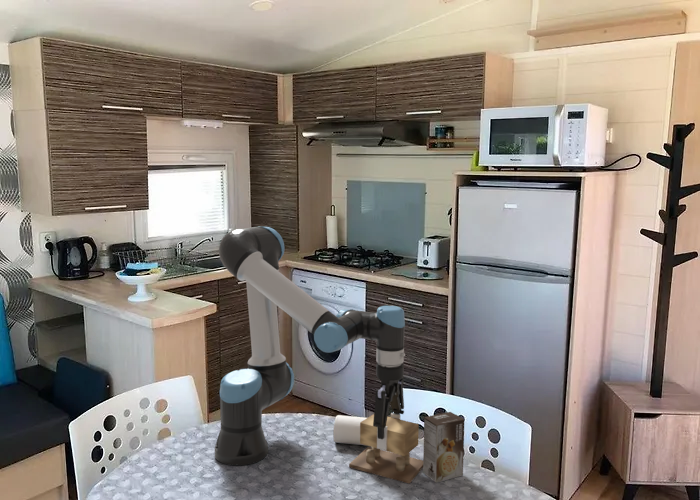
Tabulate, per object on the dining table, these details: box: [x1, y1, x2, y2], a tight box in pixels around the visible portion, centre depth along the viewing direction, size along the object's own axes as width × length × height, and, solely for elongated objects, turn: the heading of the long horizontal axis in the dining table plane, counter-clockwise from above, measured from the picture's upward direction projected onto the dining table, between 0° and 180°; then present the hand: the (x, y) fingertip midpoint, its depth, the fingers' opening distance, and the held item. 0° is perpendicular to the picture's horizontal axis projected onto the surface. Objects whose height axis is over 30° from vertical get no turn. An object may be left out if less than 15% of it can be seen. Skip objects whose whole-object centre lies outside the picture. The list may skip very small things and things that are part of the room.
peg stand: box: [348, 446, 423, 485], centre depth 163 cm, size 18×12×4 cm, turn 62°
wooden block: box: [360, 413, 420, 456], centre depth 162 cm, size 14×8×6 cm, turn 57°
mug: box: [332, 414, 368, 447], centre depth 179 cm, size 12×10×8 cm
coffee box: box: [422, 411, 465, 484], centre depth 158 cm, size 9×6×16 cm
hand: (388, 442), depth 162 cm, fingers closed on wooden block, 8 cm apart
